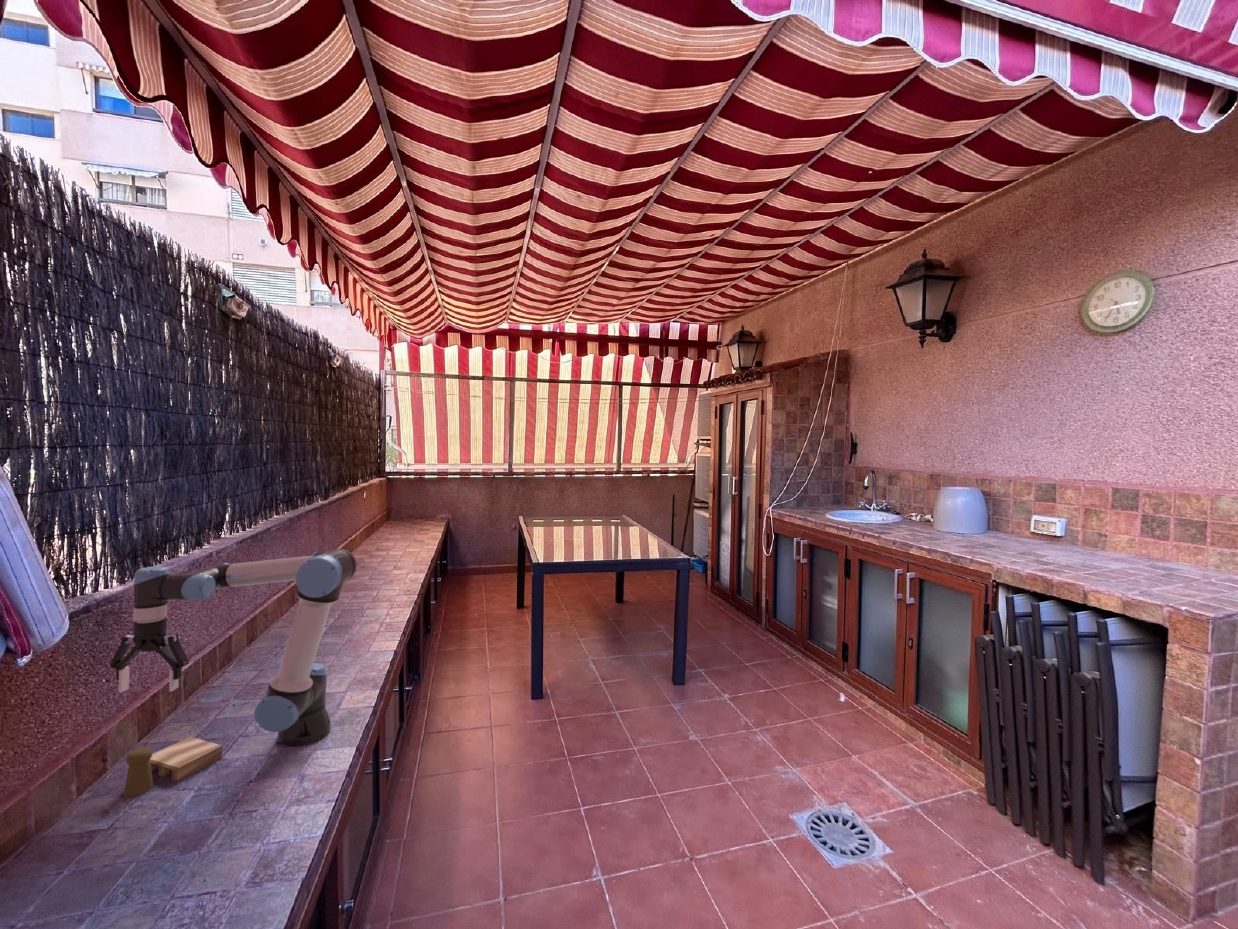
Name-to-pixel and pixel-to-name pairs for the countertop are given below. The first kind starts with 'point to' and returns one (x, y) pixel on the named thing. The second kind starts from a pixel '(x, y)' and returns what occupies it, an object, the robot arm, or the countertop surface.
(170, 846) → the countertop surface
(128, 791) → the cork
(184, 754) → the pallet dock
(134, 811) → the countertop surface
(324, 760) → the countertop surface
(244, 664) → the countertop surface
